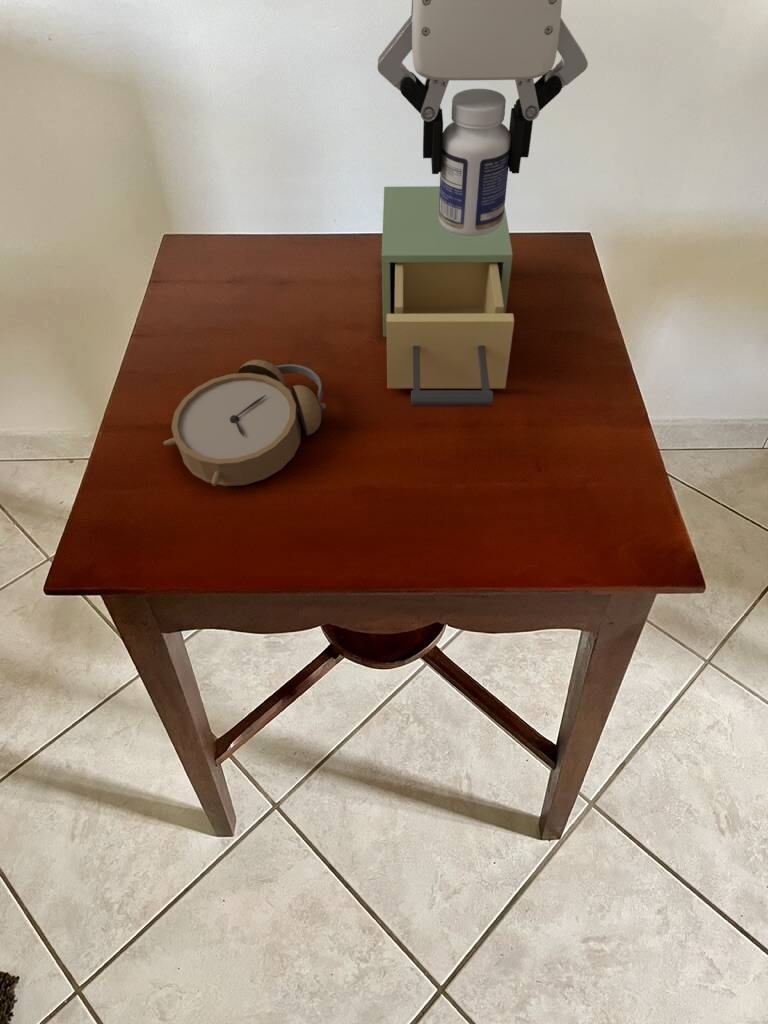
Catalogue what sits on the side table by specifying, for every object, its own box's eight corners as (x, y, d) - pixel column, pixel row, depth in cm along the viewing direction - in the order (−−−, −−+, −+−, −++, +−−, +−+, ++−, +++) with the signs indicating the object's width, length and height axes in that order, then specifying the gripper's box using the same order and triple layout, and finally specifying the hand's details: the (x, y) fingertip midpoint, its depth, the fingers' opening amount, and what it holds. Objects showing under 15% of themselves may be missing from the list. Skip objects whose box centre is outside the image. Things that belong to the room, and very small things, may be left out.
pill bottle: (502, 206, 66) (515, 84, 59) (502, 239, 63) (516, 114, 56) (439, 204, 67) (444, 83, 59) (436, 237, 63) (441, 112, 56)
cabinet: (502, 337, 82) (512, 254, 74) (383, 337, 82) (381, 255, 75) (493, 265, 90) (501, 185, 83) (385, 265, 91) (384, 186, 83)
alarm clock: (143, 423, 69) (266, 326, 74) (164, 456, 74) (279, 362, 78) (221, 487, 64) (347, 377, 69) (238, 518, 68) (356, 413, 73)
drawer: (512, 444, 70) (522, 377, 64) (386, 444, 70) (385, 377, 64) (495, 311, 83) (502, 245, 77) (389, 312, 83) (388, 246, 77)
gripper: (624, -141, 50) (575, 143, 64) (358, -137, 50) (367, 145, 64) (648, -114, 45) (590, 188, 59) (354, -109, 45) (364, 190, 59)
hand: (474, 163), depth 61 cm, fingers closed on pill bottle, 5 cm apart
